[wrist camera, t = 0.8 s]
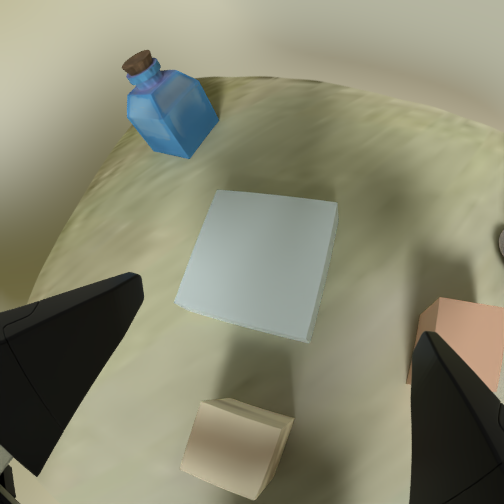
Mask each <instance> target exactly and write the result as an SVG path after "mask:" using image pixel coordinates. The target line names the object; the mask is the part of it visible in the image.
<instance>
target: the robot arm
mask: <svg viewBox="0 0 504 504" xmlns="http://www.w3.org/2000/svg"><path fill="white" fill-rule="evenodd" d="M143 300H144V292H143V285H142V278H141V276H140V275H139V274H136V273H132V272H128V273H124V274H121V275H118V276H115V277H112V278H108V279H105V280H102V281H99V282H96V283H93V284H90V285H86V286H83V287H80V288H77V289H74V290H71V291H68V292H65V293H62V294H59V295H56V296H52V297H49V298H46V299H43V300H41V301H37V302H34V303H31V304H28V305H25V306H22V307H18V308H15V309H12V310H8V311H4V312H0V504H20V503H19V502H18V501H17V500H16V499H15V497H16V494H15V488H14V481H13V474H12V467H10V466H9V465H8V464H9V463H10V461H11V460H12V459H13V457H14V458H15V459H16V460H17V461H19V462H20V463H21V464H22V465H23V466H24V467H25V468H26V469H28V470H29V471H30V472H31V473H32V474H34V475H35V476H36V477H38V475H39V474H40V472H41V470H42V469H43V467H44V465H45V463H46V461H47V460H48V458H49V456H50V454H51V453H52V451H53V449H54V447H55V446H56V444H57V442H58V440H59V439H60V437H61V435H62V434H63V432H64V431H63V430H65V428H66V427H67V425H68V423H69V422H70V420H71V418H72V417H73V415H74V413H75V412H76V410H77V408H78V407H79V405H80V404H81V402H82V400H83V399H84V397H85V396H86V394H87V392H88V391H89V389H90V388H91V386H92V384H93V383H94V381H95V380H96V378H97V377H98V375H99V374H100V372H101V371H102V369H103V367H104V366H105V364H106V363H107V361H108V360H109V358H110V357H111V355H112V354H113V352H114V351H115V349H116V348H117V346H118V345H119V343H120V342H121V340H122V339H123V337H124V336H125V334H126V332H127V330H128V328H129V327H130V325H131V323H132V321H133V319H134V317H135V315H136V314H137V312H138V310H139V308H140V306H141V305H142V303H143ZM411 423H412V464H411V486H410V500H409V504H504V405H503V403H500V400H499V399H498V398H497V397H496V395H495V394H494V393H493V392H492V391H491V390H490V389H489V388H488V386H487V385H486V384H485V383H484V382H483V381H482V380H481V379H480V378H479V376H478V375H477V374H476V373H475V372H474V371H473V370H472V369H471V368H470V367H469V366H468V364H467V363H466V362H465V361H464V360H463V359H462V358H461V357H460V356H459V355H458V354H457V353H456V352H455V351H454V350H453V349H452V348H451V347H450V346H449V345H448V344H447V342H446V341H445V340H444V339H443V338H442V337H441V336H440V335H439V334H438V333H437V332H433V331H424V332H423V333H422V335H421V337H420V339H419V341H418V343H417V345H416V347H415V349H414V351H413V354H412V378H411Z"/></svg>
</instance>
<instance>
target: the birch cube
mask: <svg viewBox="0 0 504 504" xmlns="http://www.w3.org/2000/svg"><path fill="white" fill-rule="evenodd" d="M294 419H295V418H293V417H289V416H285V415H282V414H278V413H275V412H272V411H268V410H265V409H262V408H259V407H256V406H253V405H249V404H246V403H243V402H241V401H238V400H235V399H232V398H224V399H215V400H206V401H201V402H200V405H199V408H198V412H197V415H196V418H195V421H194V424H193V427H192V431H191V434H190V437H189V440H188V443H187V446H186V450H185V453H184V456H183V459H182V462H181V466H180V470H182V471H184V472H187V473H189V474H191V475H193V476H195V477H197V478H199V479H201V480H204V481H206V482H208V483H210V484H213V485H215V486H217V487H220V488H222V489H225V490H227V491H230V492H232V493H235V494H238V495H240V496H243V497H246V498H249V499H251V500H254V501H255V500H256V499H257V497H258V496H259V495H260V494H261V492H262V491H263V490H264V489H265V487H266V486H267V485H268V484H269V482H270V481H271V480H272V479H273V477H274V475H275V472H276V469H277V467H278V464H279V462H280V459H281V456H282V453H283V451H284V448H285V445H286V442H287V440H288V437H289V434H290V431H291V428H292V425H293V422H294Z"/></svg>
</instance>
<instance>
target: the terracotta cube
mask: <svg viewBox="0 0 504 504" xmlns="http://www.w3.org/2000/svg"><path fill="white" fill-rule="evenodd" d="M424 331H433V332H437V333H438V334H439V335H440V336H441V337H442V338H443V339H444V340H445V341H446V342H447V344H448V345H449V346H450V347H451V348H452V349H453V350H454V351H455V352H456V353H457V354H458V355H459V356H460V357H461V358H462V359H463V360H464V361H465V362H466V363H467V364H468V366H469V367H470V368H471V369H472V370H473V371H474V372H475V373H476V374H477V375H478V376H479V378H480V379H481V380H482V381H483V382H484V383H485V384H486V385H487V386H488V388H489V389H490V390H491V391H492V392H497V387H498V382H499V376H500V371H501V365H502V358H503V351H504V308H502V307H496V306H490V305H484V304H478V303H472V302H466V301H461V300H455V299H449V298H443V297H439V298H438V299H437V300H436V301H435V302H434V303H433V304H432V305H430V306H429V307H428V308H427V309H426V310H425V311H424V312H423V313H421V314H420V317H419V323H418V329H417V335H416V340H415V346H414V349H415V347H416V345H417V343H418V341H419V339H420V337H421V335H422V333H423V332H424ZM411 378H412V360H411V365H410V369H409V374H408V378H407V382H406V384H411Z"/></svg>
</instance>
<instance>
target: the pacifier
mask: <svg viewBox="0 0 504 504" xmlns="http://www.w3.org/2000/svg"><path fill="white" fill-rule="evenodd" d="M499 248H500V251H501V253H502V255H503V256H504V230H503V231H502V233H501V234H500V238H499Z"/></svg>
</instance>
